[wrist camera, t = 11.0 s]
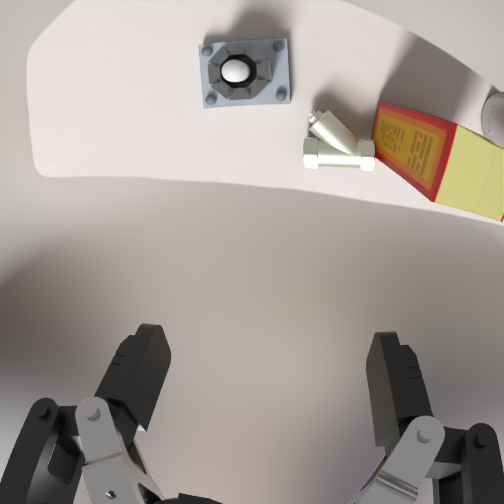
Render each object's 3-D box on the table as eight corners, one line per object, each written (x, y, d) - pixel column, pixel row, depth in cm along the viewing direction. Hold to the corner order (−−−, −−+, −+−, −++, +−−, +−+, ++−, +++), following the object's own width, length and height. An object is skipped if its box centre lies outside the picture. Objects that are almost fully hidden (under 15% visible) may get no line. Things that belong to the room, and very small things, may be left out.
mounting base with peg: (286, 39, 29) (286, 28, 22) (290, 103, 33) (290, 109, 26) (202, 46, 30) (178, 38, 23) (207, 107, 34) (185, 115, 27)
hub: (270, 46, 28) (267, 41, 24) (273, 95, 32) (270, 98, 27) (217, 50, 29) (206, 46, 25) (220, 98, 32) (210, 101, 28)
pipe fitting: (305, 109, 34) (307, 163, 37) (301, 110, 30) (303, 169, 33) (371, 111, 31) (371, 165, 35) (375, 112, 28) (374, 172, 31)
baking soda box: (441, 123, 31) (526, 159, 18) (429, 168, 35) (504, 223, 21) (378, 101, 31) (456, 123, 17) (367, 151, 34) (433, 203, 20)
